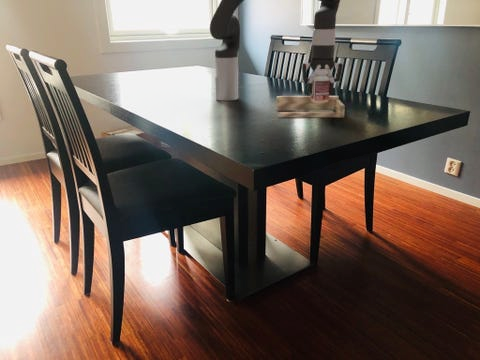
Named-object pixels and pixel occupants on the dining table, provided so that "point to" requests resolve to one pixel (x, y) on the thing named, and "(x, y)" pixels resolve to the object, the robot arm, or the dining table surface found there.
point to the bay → (309, 106)
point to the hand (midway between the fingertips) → (320, 93)
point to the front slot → (320, 110)
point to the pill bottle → (320, 86)
